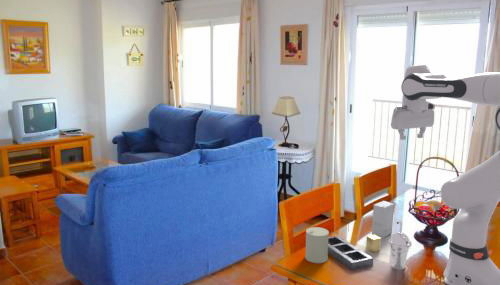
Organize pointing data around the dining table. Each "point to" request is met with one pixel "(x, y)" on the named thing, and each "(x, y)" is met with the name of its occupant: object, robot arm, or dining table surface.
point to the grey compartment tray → (348, 253)
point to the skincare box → (382, 219)
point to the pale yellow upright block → (373, 243)
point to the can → (316, 245)
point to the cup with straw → (399, 248)
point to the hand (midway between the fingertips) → (411, 138)
